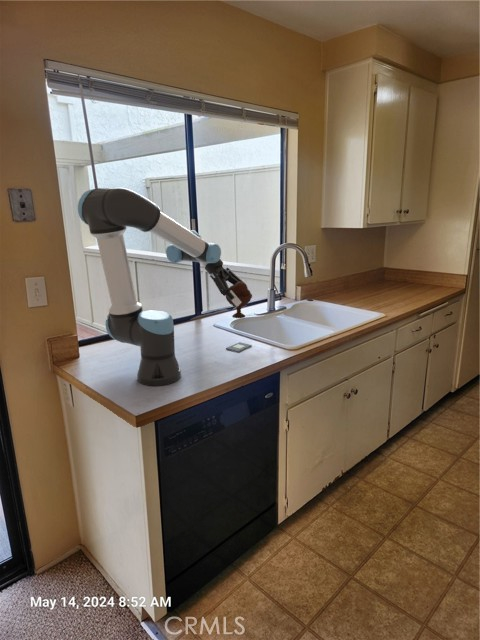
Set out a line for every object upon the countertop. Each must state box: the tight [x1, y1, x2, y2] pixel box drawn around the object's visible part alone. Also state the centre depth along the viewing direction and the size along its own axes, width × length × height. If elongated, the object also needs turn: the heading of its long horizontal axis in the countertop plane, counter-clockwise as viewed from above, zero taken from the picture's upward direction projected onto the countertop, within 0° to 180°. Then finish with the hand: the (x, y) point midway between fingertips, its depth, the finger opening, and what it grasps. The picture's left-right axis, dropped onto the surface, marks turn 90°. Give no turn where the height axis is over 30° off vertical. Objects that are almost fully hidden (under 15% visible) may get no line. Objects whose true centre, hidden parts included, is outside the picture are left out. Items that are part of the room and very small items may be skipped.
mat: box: [225, 342, 253, 353], centre depth 176 cm, size 10×7×1 cm
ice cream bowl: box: [225, 281, 253, 319], centre depth 170 cm, size 11×11×15 cm
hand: (245, 301), depth 169 cm, fingers closed on ice cream bowl, 11 cm apart
